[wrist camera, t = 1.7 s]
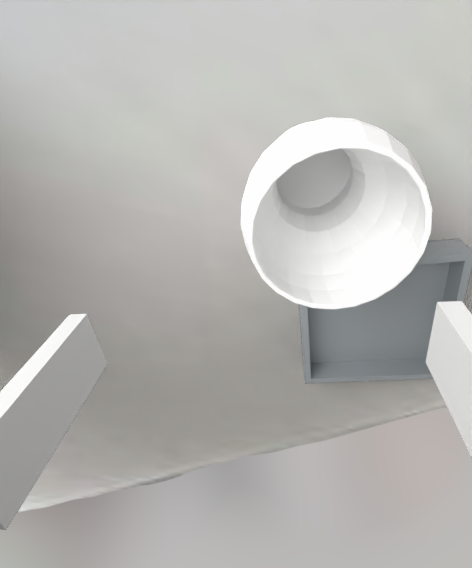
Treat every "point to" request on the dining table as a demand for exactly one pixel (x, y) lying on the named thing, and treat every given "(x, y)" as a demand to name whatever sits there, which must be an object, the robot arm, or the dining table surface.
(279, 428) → the dining table surface
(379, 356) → the tray
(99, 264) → the dining table surface
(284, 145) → the cup
